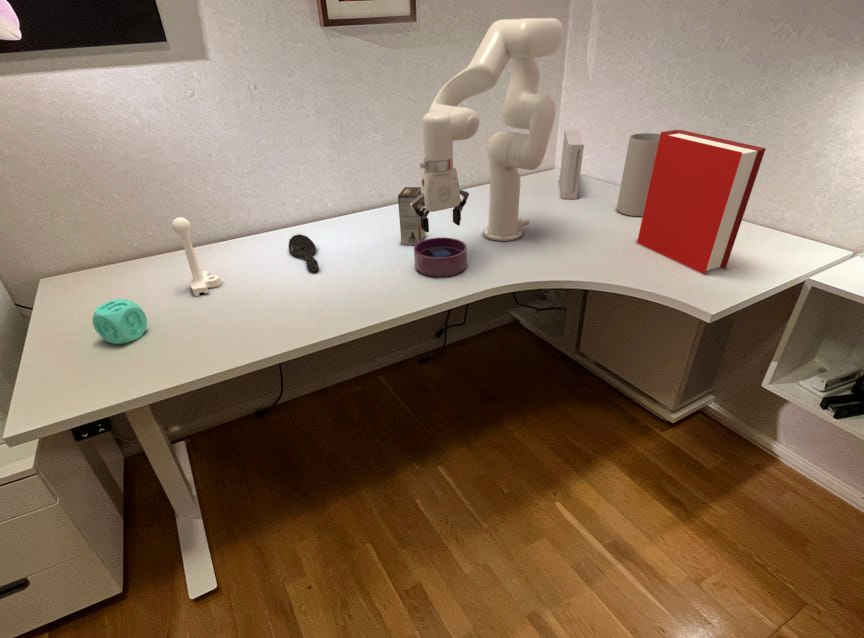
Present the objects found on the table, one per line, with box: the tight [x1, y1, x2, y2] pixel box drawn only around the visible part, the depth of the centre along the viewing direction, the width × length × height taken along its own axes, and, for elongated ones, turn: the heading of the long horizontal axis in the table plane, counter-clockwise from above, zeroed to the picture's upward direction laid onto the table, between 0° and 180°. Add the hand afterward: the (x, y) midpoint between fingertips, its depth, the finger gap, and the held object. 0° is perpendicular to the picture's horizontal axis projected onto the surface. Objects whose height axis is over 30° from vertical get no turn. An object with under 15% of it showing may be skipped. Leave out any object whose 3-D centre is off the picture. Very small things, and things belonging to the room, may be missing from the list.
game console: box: [558, 129, 585, 200], centre depth 200 cm, size 6×27×20 cm, turn 171°
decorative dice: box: [92, 298, 148, 345], centre depth 119 cm, size 8×8×8 cm
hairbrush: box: [288, 232, 320, 274], centre depth 156 cm, size 8×4×25 cm
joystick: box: [171, 216, 222, 297], centre depth 137 cm, size 11×8×20 cm
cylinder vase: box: [616, 132, 661, 217], centre depth 174 cm, size 12×12×25 cm
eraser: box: [428, 247, 452, 258], centre depth 146 cm, size 5×7×4 cm, turn 25°
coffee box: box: [397, 186, 426, 246], centre depth 161 cm, size 9×6×16 cm
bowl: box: [413, 237, 468, 278], centre depth 146 cm, size 15×15×6 cm
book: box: [636, 129, 767, 275], centre depth 141 cm, size 27×8×32 cm, turn 24°
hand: (441, 227), depth 142 cm, fingers open, 9 cm apart
